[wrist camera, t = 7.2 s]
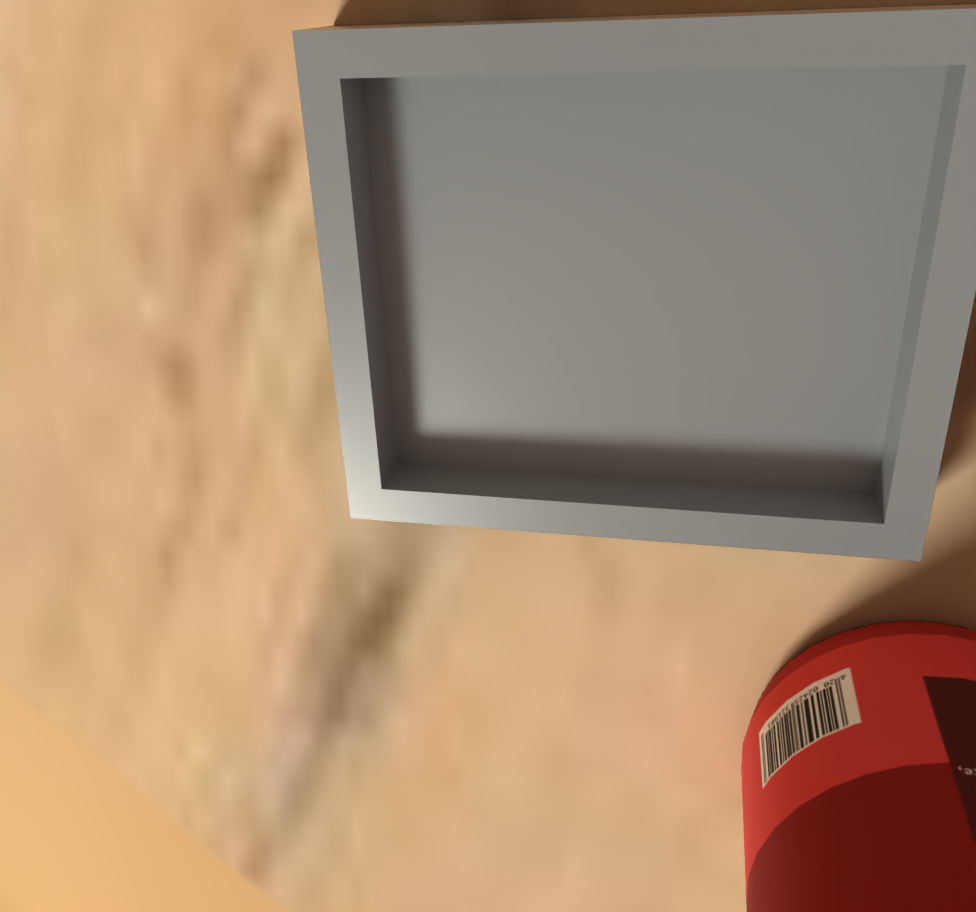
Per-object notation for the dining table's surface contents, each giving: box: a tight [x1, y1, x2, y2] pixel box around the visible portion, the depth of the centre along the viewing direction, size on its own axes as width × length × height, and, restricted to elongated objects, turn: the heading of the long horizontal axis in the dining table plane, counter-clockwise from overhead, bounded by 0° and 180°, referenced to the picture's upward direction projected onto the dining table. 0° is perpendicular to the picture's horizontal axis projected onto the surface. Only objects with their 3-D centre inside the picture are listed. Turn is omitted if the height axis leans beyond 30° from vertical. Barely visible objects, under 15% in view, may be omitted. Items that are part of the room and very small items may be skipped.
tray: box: [292, 4, 976, 561], centre depth 18 cm, size 12×10×2 cm
